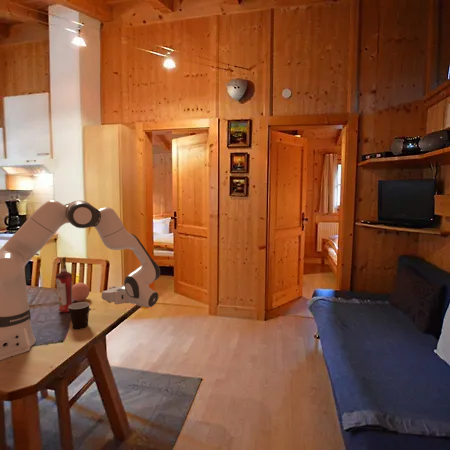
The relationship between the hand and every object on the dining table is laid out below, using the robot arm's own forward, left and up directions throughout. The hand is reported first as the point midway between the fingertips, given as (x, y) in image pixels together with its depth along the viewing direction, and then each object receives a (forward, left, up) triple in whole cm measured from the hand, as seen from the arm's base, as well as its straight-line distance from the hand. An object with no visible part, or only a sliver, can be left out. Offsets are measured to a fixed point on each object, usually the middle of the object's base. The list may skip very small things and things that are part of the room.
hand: (111, 288), depth 168 cm
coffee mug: (-19, -3, -12) cm, 23 cm away
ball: (0, +27, -7) cm, 27 cm away
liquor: (-13, +19, -12) cm, 26 cm away
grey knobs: (+1, +11, -12) cm, 16 cm away
